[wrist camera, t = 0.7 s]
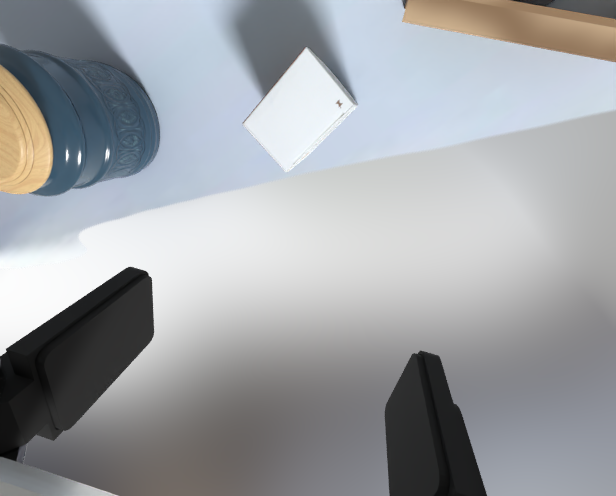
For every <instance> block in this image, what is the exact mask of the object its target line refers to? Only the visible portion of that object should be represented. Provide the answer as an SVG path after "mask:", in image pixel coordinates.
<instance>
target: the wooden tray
mask: <svg viewBox="0 0 616 496" xmlns="http://www.w3.org/2000/svg"><path fill="white" fill-rule="evenodd" d="M404 8H405V13H404V17H403V20H402V22H405V23H411V24H416V25H421V26H427V27H432V28H437V29H442V30H448V31H453V32H458V33H464V34H469V35H474V36H479V37H485V38H490V39H495V40H501V41H506V42H511V43H517V44H522V45H527V46H532V47H538V48H543V49H548V50H554V51H559V52H564V53H569V54H575V55H580V56H585V57H591V58H596V59H601V60H606V61H612V62H616V19H612V18H606V17H600V16H595V15H589V14H584V13H578V12H572V11H567V10H561V9H556V8H550V7H544V6H539V5H533V4H528V3H522V2H516V1H511V0H406V3H405V7H404Z"/></svg>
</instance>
